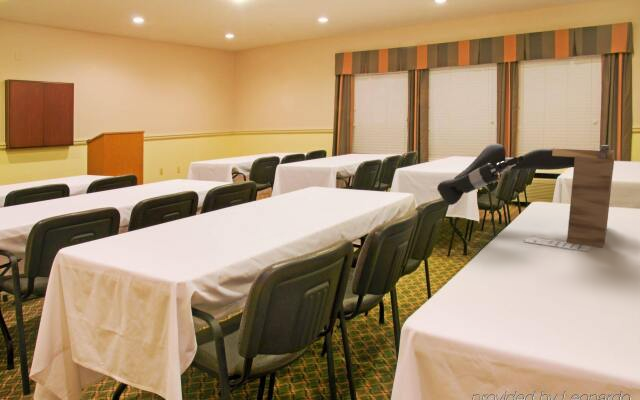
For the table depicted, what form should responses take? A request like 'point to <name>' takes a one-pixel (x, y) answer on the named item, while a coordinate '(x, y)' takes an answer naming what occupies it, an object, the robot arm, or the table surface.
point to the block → (580, 153)
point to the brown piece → (590, 199)
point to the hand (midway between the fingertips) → (520, 158)
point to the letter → (558, 244)
